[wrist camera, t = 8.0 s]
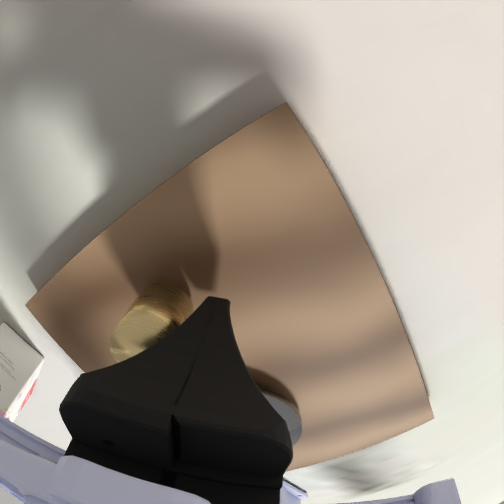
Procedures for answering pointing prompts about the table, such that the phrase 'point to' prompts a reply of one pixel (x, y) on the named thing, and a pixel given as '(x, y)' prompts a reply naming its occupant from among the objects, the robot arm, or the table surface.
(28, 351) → the ink cartridge box
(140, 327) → the crank handle
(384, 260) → the table surface
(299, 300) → the board
